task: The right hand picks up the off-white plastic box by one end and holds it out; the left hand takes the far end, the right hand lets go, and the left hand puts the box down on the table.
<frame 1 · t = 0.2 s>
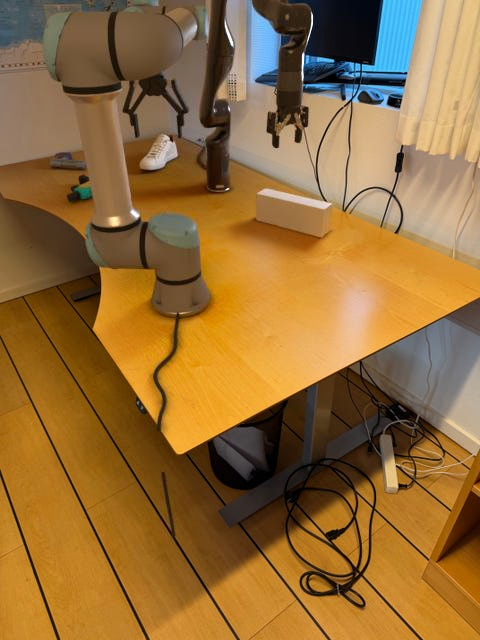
left hand: (158, 137, 149), 29 cm above the table, tool pointing down, fingers open, 13 cm apart
right hand: (286, 145, 146), 28 cm above the table, tool pointing down, fingers open, 8 cm apart
toy gun: (72, 165, 218), on the table
sneaker: (158, 164, 218), on the table
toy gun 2: (85, 193, 190), on the table
box: (291, 225, 163), on the table
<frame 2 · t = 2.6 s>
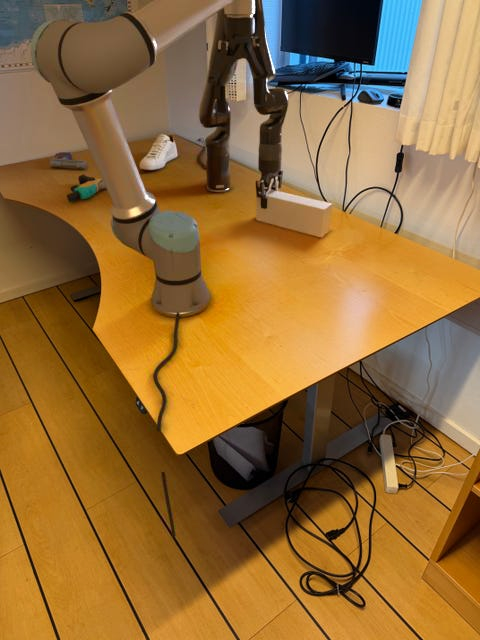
left hand: (240, 108, 130), 40 cm above the table, tool pointing down, fingers open, 13 cm apart
right hand: (268, 204, 164), 5 cm above the table, tool pointing down, fingers closed on box, 6 cm apart
box: (291, 225, 163), on the table, touching right hand
everything else where it was.
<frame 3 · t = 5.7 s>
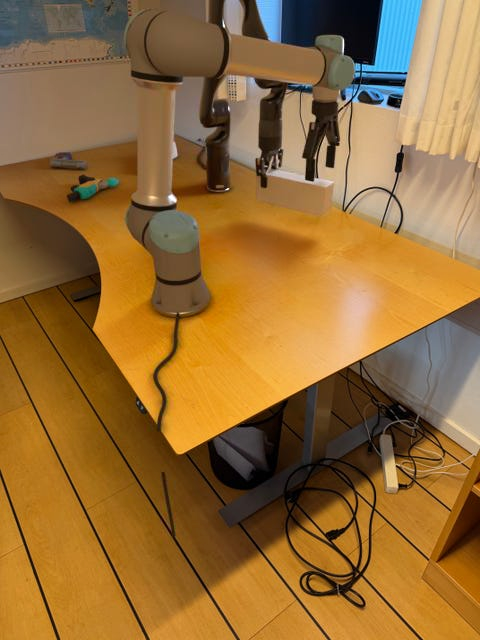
left hand: (319, 173, 146), 20 cm above the table, tool pointing down, fingers open, 13 cm apart
right hand: (268, 184, 160), 13 cm above the table, tool pointing down, fingers closed on box, 6 cm apart
box: (292, 205, 159), point 7 cm above the table, touching right hand
everything else where it was.
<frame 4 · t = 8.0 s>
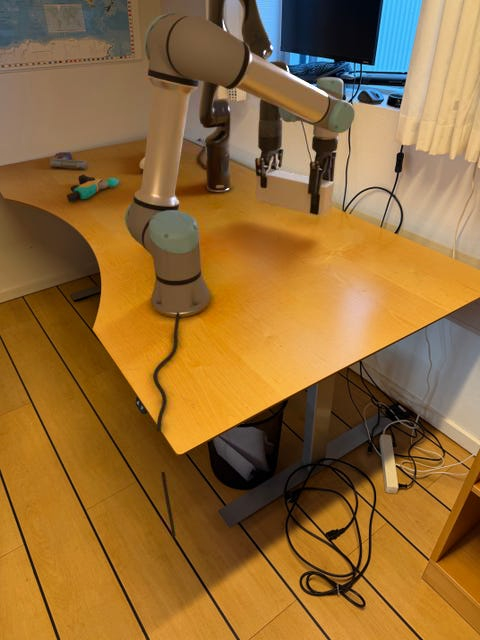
left hand: (318, 209, 154), 8 cm above the table, tool pointing down, fingers closed on box, 6 cm apart
right hand: (268, 184, 160), 13 cm above the table, tool pointing down, fingers closed on box, 6 cm apart
box: (292, 205, 159), point 7 cm above the table, touching left hand, right hand
everything else where it was.
when the right hand's fingers open (13 cm above the table, at t = 8.8 s): box stays where it is, held by the left hand.
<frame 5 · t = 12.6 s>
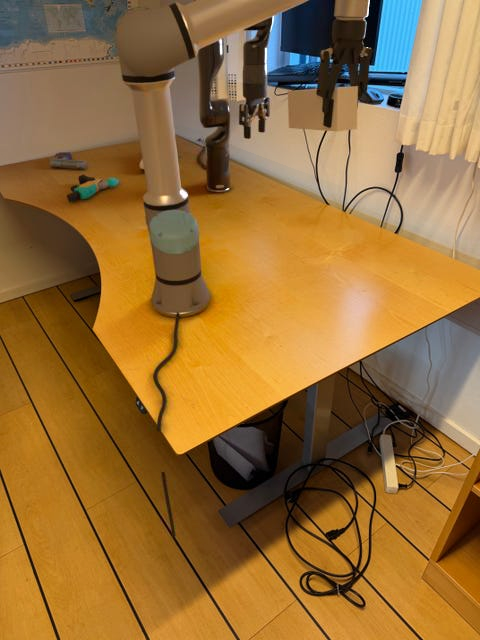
left hand: (338, 124, 122), 38 cm above the table, tool pointing down, fingers closed on box, 6 cm apart
right hand: (254, 135, 154), 28 cm above the table, tool pointing down, fingers open, 8 cm apart
box: (320, 128, 130), point 36 cm above the table, tilted 11°, touching left hand
everything else where it was.
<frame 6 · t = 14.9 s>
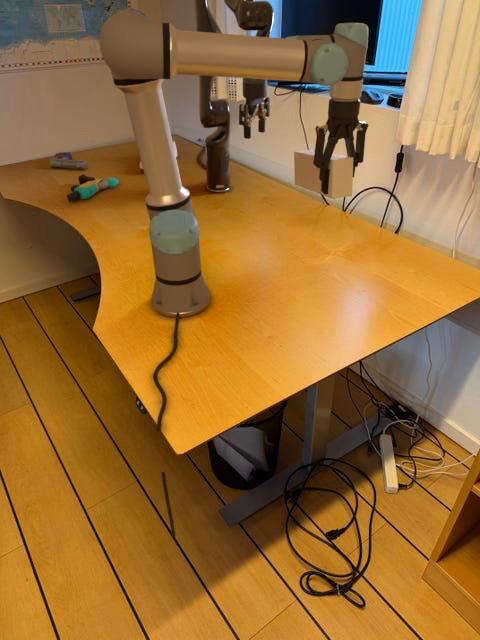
left hand: (335, 190, 128), 22 cm above the table, tool pointing down, fingers closed on box, 6 cm apart
right hand: (254, 135, 154), 28 cm above the table, tool pointing down, fingers open, 8 cm apart
box: (321, 189, 137), point 20 cm above the table, tilted 11°, touching left hand
everything else where it was.
when the left hand's fingers open (2 cm above the table, at t = 17.3 s): box stays where it is, on the table.
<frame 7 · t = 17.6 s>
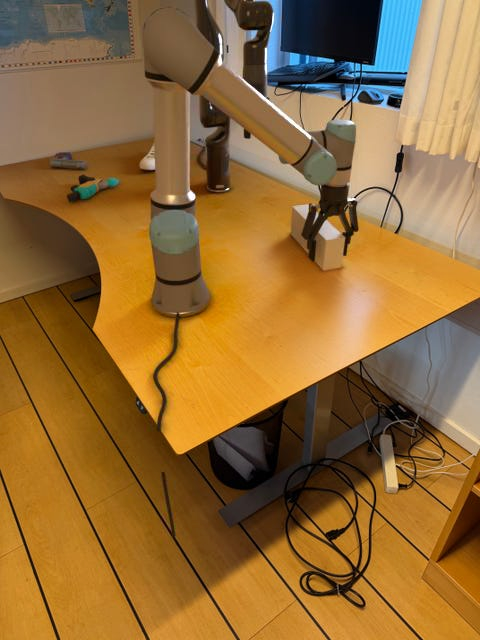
left hand: (327, 256, 140), 2 cm above the table, tool pointing down, fingers open, 9 cm apart
right hand: (254, 135, 154), 28 cm above the table, tool pointing down, fingers open, 8 cm apart
box: (314, 249, 149), on the table
everything else where it was.
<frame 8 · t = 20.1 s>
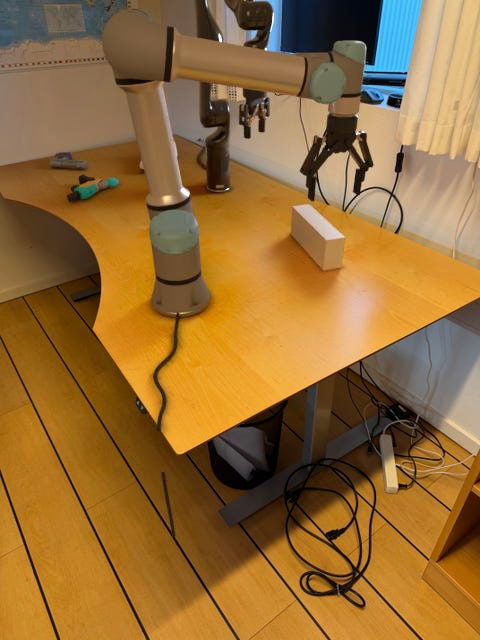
left hand: (333, 196, 129), 21 cm above the table, tool pointing down, fingers open, 13 cm apart
right hand: (254, 135, 154), 28 cm above the table, tool pointing down, fingers open, 8 cm apart
nothing on the table moved.
at the end: box inside the target area (9.0 cm from its centre), on the table; the left hand is holding nothing; the right hand is holding nothing; box at rest at the end (0.0 cm/s) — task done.
